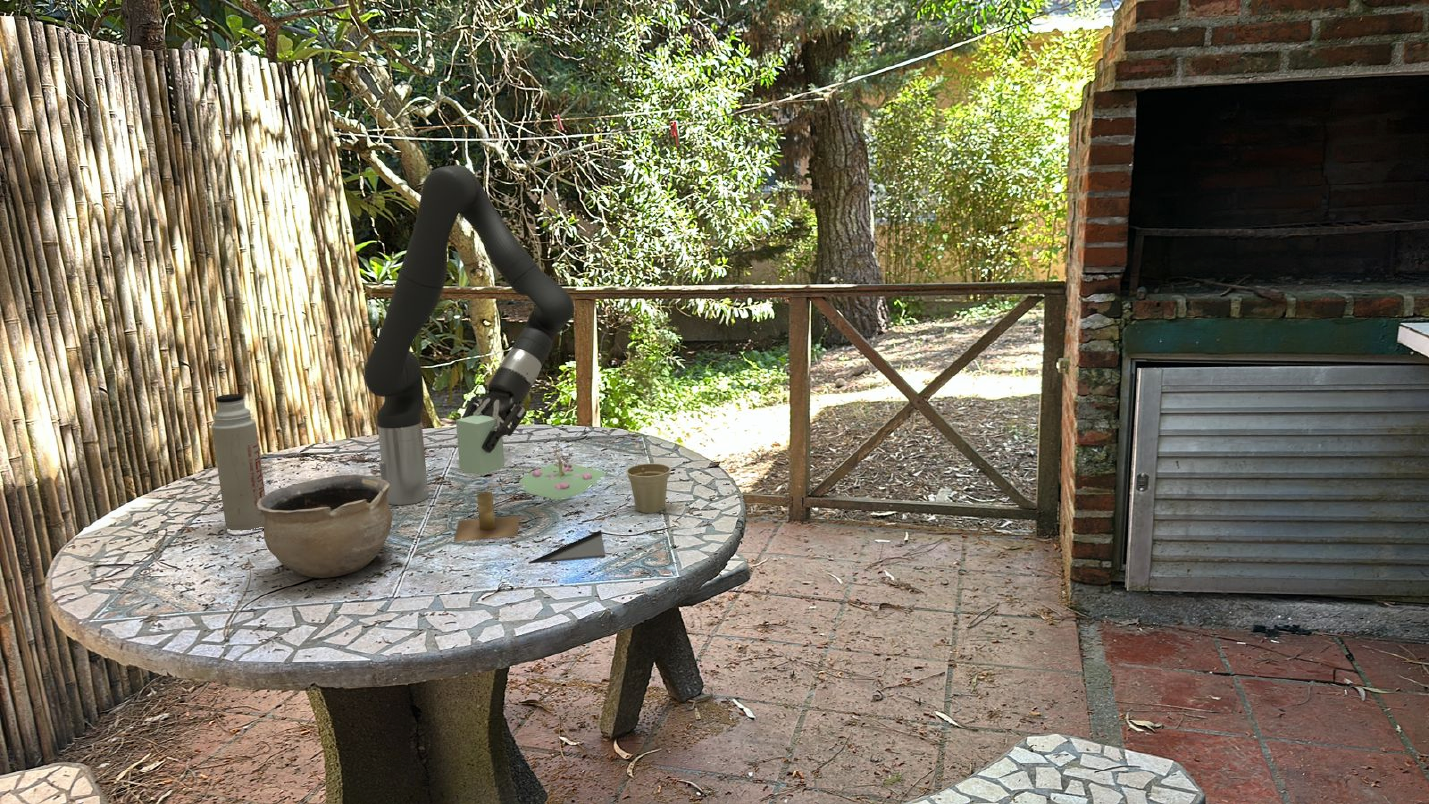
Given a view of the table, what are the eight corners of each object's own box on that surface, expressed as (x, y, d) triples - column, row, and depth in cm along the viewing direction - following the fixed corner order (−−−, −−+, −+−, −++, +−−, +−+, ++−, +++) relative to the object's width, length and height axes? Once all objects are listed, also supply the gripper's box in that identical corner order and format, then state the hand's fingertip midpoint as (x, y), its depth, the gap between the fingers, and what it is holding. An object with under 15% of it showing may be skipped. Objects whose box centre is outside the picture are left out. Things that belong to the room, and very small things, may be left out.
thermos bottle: (277, 522, 204) (260, 391, 198) (252, 536, 197) (233, 400, 191) (243, 521, 206) (225, 390, 200) (217, 534, 198) (197, 399, 192)
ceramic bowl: (319, 603, 164) (308, 518, 161) (241, 578, 175) (230, 498, 172) (422, 559, 182) (414, 481, 179) (345, 539, 194) (337, 466, 190)
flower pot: (638, 519, 201) (636, 478, 199) (620, 506, 209) (618, 467, 207) (679, 511, 205) (678, 471, 203) (661, 499, 213) (659, 460, 211)
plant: (608, 499, 216) (606, 460, 214) (512, 505, 213) (510, 466, 211) (604, 467, 240) (602, 431, 238) (518, 473, 237) (516, 436, 235)
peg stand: (454, 548, 187) (450, 506, 185) (459, 527, 199) (455, 487, 197) (518, 543, 189) (515, 501, 187) (519, 522, 201) (516, 482, 199)
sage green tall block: (481, 475, 187) (477, 424, 185) (459, 470, 190) (455, 420, 188) (504, 467, 192) (501, 417, 189) (483, 462, 195) (479, 413, 193)
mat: (528, 563, 179) (528, 561, 179) (529, 537, 192) (528, 535, 192) (605, 556, 181) (605, 554, 181) (600, 530, 194) (600, 529, 194)
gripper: (479, 362, 197) (436, 432, 190) (530, 369, 188) (488, 443, 182) (501, 383, 202) (460, 452, 195) (551, 391, 194) (511, 463, 187)
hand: (473, 447), depth 188 cm, fingers closed on sage green tall block, 6 cm apart
